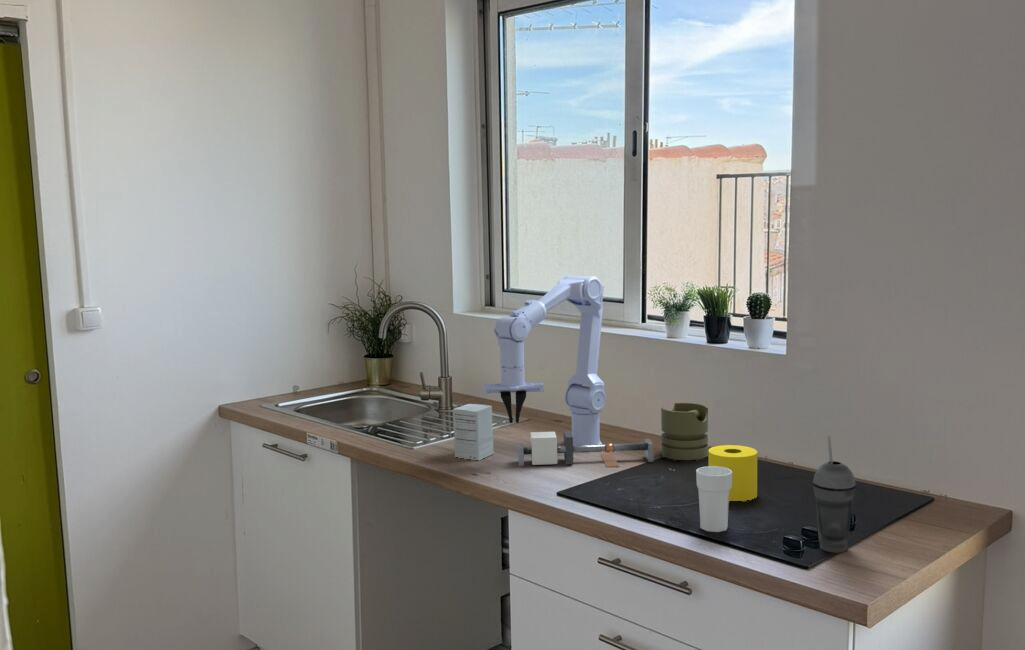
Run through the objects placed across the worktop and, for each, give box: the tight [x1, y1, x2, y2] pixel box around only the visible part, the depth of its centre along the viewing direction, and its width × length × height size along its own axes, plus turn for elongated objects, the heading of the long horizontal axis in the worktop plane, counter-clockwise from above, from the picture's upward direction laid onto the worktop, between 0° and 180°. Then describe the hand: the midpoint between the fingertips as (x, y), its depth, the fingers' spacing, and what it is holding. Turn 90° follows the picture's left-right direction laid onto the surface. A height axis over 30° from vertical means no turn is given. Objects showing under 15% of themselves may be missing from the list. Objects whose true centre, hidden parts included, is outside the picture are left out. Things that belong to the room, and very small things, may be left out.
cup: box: [695, 465, 732, 533], centre depth 176 cm, size 7×7×11 cm
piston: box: [660, 402, 709, 460], centre depth 229 cm, size 11×12×11 cm
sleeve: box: [529, 431, 558, 466], centre depth 225 cm, size 6×6×6 cm
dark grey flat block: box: [563, 430, 574, 465], centre depth 225 cm, size 2×7×6 cm, turn 2°
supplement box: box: [452, 403, 495, 462], centre depth 233 cm, size 7×7×13 cm
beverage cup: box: [812, 435, 857, 553], centre depth 163 cm, size 7×7×20 cm
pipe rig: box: [517, 438, 654, 468], centre depth 226 cm, size 32×11×4 cm, turn 92°
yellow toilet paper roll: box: [708, 444, 758, 502], centre depth 196 cm, size 10×10×9 cm
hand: (514, 422), depth 224 cm, fingers closed
